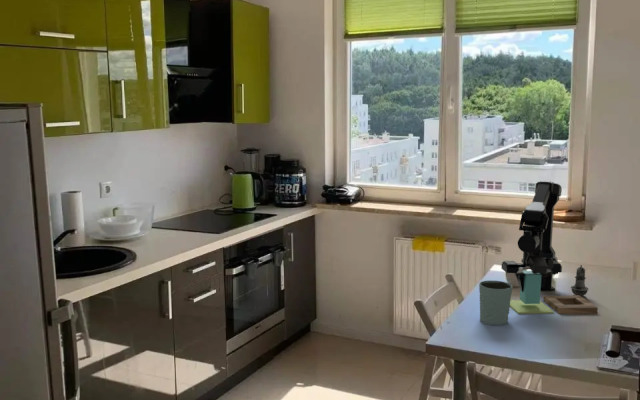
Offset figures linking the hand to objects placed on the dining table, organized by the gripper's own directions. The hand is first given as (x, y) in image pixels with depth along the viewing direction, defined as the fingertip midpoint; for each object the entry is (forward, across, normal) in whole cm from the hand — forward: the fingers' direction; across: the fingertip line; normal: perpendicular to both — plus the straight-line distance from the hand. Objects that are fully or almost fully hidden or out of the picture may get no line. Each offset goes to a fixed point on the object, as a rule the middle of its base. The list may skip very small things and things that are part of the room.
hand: (530, 291), depth 214 cm
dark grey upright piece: (+6, +22, +10) cm, 25 cm away
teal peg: (+4, 0, 0) cm, 4 cm away
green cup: (+6, -16, -12) cm, 21 cm away
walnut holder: (+6, +14, 0) cm, 15 cm away
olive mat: (+6, 0, 0) cm, 6 cm away
